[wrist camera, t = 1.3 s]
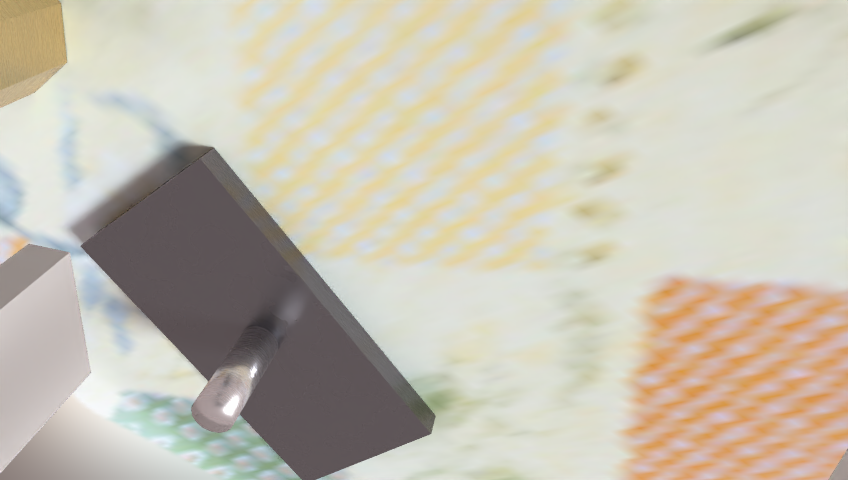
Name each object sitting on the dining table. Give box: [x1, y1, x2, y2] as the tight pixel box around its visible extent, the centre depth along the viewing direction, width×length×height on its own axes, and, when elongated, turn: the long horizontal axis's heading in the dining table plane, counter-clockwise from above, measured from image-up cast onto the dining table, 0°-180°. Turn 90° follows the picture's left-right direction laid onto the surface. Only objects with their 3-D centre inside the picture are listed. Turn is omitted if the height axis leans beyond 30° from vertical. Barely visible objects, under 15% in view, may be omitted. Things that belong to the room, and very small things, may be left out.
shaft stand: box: [81, 148, 435, 480], centre depth 38 cm, size 20×10×8 cm, turn 36°
